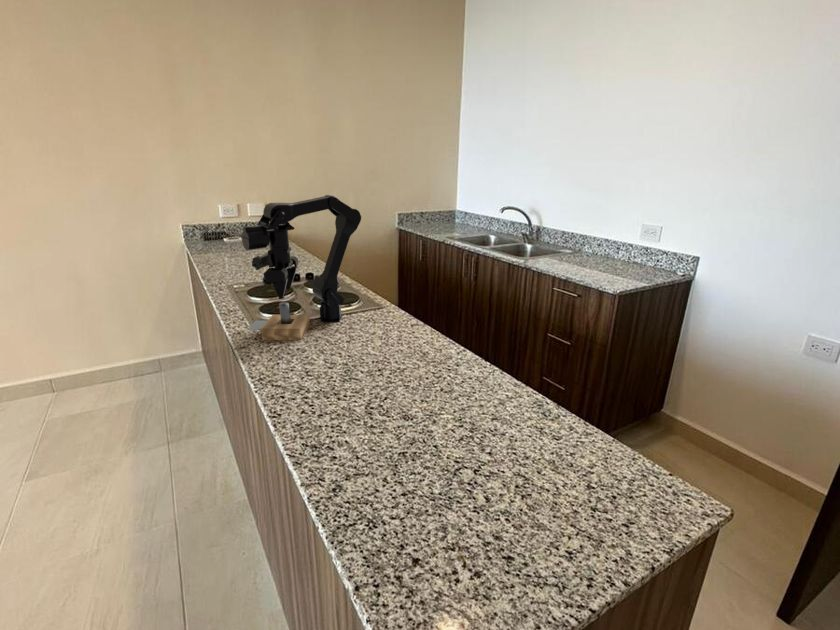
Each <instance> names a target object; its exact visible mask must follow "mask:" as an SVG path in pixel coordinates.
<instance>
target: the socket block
mask: <svg viewBox="0 0 840 630" xmlns="http://www.w3.org/2000/svg"><path fill="white" fill-rule="evenodd" d="M290 319H291V324H281V317H280V314H272V315H271V317H269V318H268V320H266V321H267V322H266V323H265V324H264V326H263V327H262V328H261V330H260V332H261V338H262V339H261V340H265V341H267V340H268V341H270V340H271V341H278V340H280V341H302V339H303V338H304V337H305V334H306V333H307V331H308V329H309V328H310V326H311V322H310V321H311V320H310V315H309V314H290Z"/></svg>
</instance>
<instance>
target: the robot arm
mask: <svg viewBox="0 0 840 630" xmlns="http://www.w3.org/2000/svg"><path fill="white" fill-rule="evenodd" d="M325 210H326V211H329V212H330V213H331V214H332V215H333V216H335V222H334V225H335V235H334V237H333V241H332V244H331V247H330V250H329V253H328V256H327V259H326V262H325V266H324V268H323V272H322V273H321V274H320V275H319V276H318V275H315V276H314V280H313V283H312V284H311V287H312V293H313V295H314V297H317V300H318V301H319V302H320V306H319V319H320V322H324V323H340V321H341V320H342V318H343V314H342V307H341V306H342V305H343V304H344V300H345V298H344V297H343V296H342V295H340V294H339V293H338V288H339V282H338V281H339V280H338V276H339V272H340V269H341V265H342V263H343V260H344V257H345V253H346V251H347V247H348V245H349V241H350V238H351V236H352V235H353V234H354V233H355V231H357V229H358V228H359V226H360V224H361V222H362V215H361V213H360V211H359V210H358V209H356V208H352V207H350V205H348V204H346V203H345V202H343V201H341V200H340V199H339V198H338V197H336V196H334V195H330V194H326V195H323V196H319V197H314V198H310V199H309V198H308V199H305V200H300V201H296V202H270V203H269V202H268V203H267V204H266V205H265V206H264V208H263V212H262V213H263V214H262V216H261V217H260V219H259V221H258V222H257V225H252V226H249V225H244V226H243V227H242V229H243V231H242V233H241V234H242V235H241V242H242V245H243V248H244V249H245V251H252V250H259V249H266V248H267V247H268V246H269V249H268V251H267V253H265V254H263V255H257V256H254V257H252V260H251V267H253V268H254V269H255V270H256V271H259V270H261V269H263V268H265V267H268V269H266V270H265V271H264V272H263V279H264V281H266V282H268V283H270V284H272V286H273V288H274V290H275V292H276V295H277V298H278V299H279V300H280V299H281V300H282V299H284V295H285V292H286V290H288V291H289V290H290V289H291V288H292V284H293V281H294V278H295V276H296V273H297V269H298V267H299V258H297V257H296V256H294V255H293V256H292V255H291V251H292V247H291V246H290V241H289V240H290V238H289V232H288V231H292V230H295V227H294V226H293V225H291V224H290V222H291V221H293V220H294V219H296V218H297V217H300V216H304V215H308V214H313V213H318V212H322V211H325Z"/></svg>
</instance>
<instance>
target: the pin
mask: <svg viewBox="0 0 840 630" xmlns="http://www.w3.org/2000/svg"><path fill="white" fill-rule="evenodd" d="M278 307H279V315H280V317H281V324H291V319H290V315H291V312H290V302H288V301H282V302H279V304H278Z"/></svg>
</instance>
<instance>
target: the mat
mask: <svg viewBox="0 0 840 630" xmlns="http://www.w3.org/2000/svg"><path fill="white" fill-rule="evenodd" d="M267 321H268V320H263V319H262V320H257V319H255V320H254V321H253V323H251V325H250V326H249V327H248V328H247V330H254V331H255V330H256V331H257V330H258V331H259V330H260V331H261V328H262V327H263V326H264V324H265V323H266V322H267Z"/></svg>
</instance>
